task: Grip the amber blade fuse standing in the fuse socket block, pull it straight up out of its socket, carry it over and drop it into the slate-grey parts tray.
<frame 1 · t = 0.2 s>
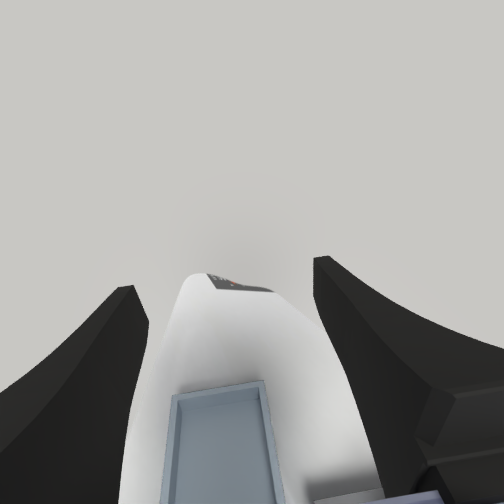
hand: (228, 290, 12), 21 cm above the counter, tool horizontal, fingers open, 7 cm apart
parts tray: (224, 469, 25), on the counter
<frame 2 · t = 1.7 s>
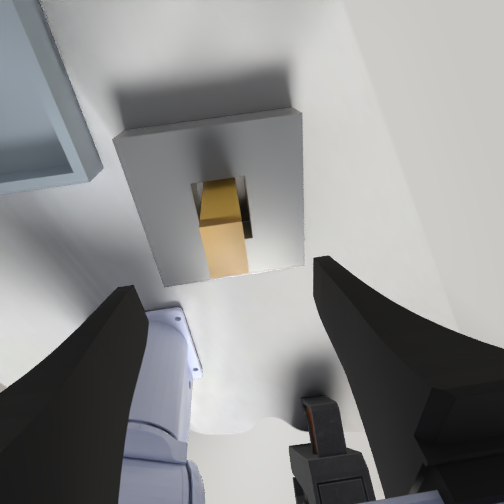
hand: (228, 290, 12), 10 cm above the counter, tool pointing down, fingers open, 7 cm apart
tool: (309, 425, 39), on the counter
fuse: (223, 219, 17), in the socket block
socket block: (222, 197, 20), on the counter
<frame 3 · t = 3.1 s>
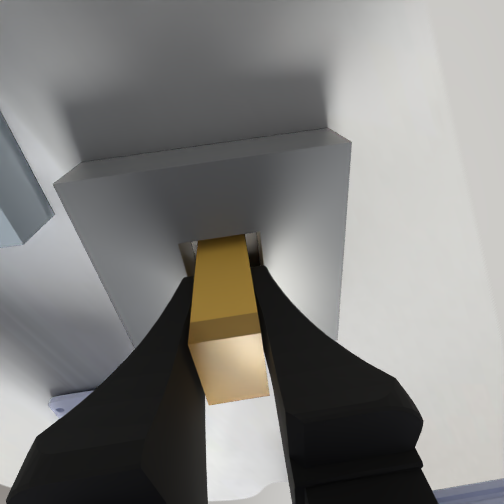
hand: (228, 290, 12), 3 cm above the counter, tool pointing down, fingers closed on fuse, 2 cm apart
fuse: (228, 295, 12), in the socket block, touching gripper
socket block: (225, 248, 15), on the counter
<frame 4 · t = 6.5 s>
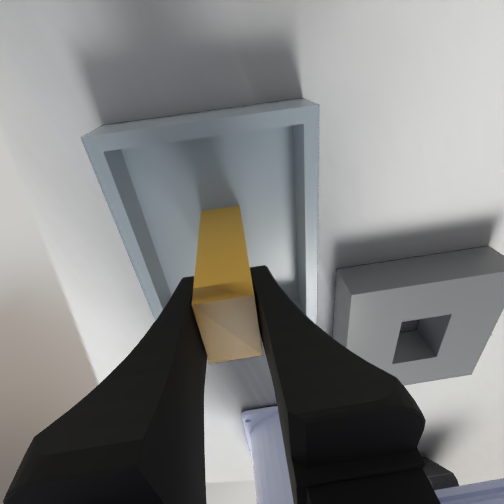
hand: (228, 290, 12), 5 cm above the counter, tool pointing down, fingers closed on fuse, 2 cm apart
tool: (403, 480, 40), on the counter
fuse: (227, 271, 13), in the parts tray, touching gripper
parts tray: (225, 229, 16), on the counter
socket block: (400, 313, 22), on the counter
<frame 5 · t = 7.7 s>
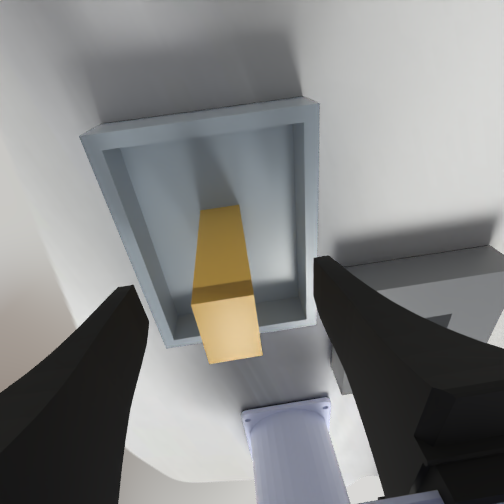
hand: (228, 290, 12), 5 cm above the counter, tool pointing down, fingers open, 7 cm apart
fuse: (226, 271, 13), in the parts tray
parts tray: (224, 228, 16), on the counter
socket block: (400, 313, 22), on the counter
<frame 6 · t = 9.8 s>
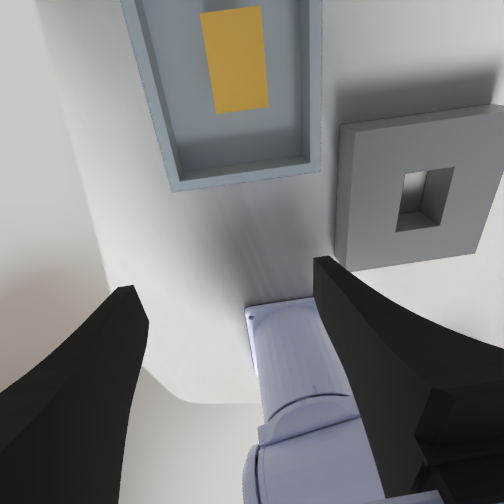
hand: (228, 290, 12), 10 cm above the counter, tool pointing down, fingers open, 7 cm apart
fuse: (232, 64, 13), in the parts tray
parts tray: (230, 65, 17), on the counter
socket block: (403, 188, 22), on the counter
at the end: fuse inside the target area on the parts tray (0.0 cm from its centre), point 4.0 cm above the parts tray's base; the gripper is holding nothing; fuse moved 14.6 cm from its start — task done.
